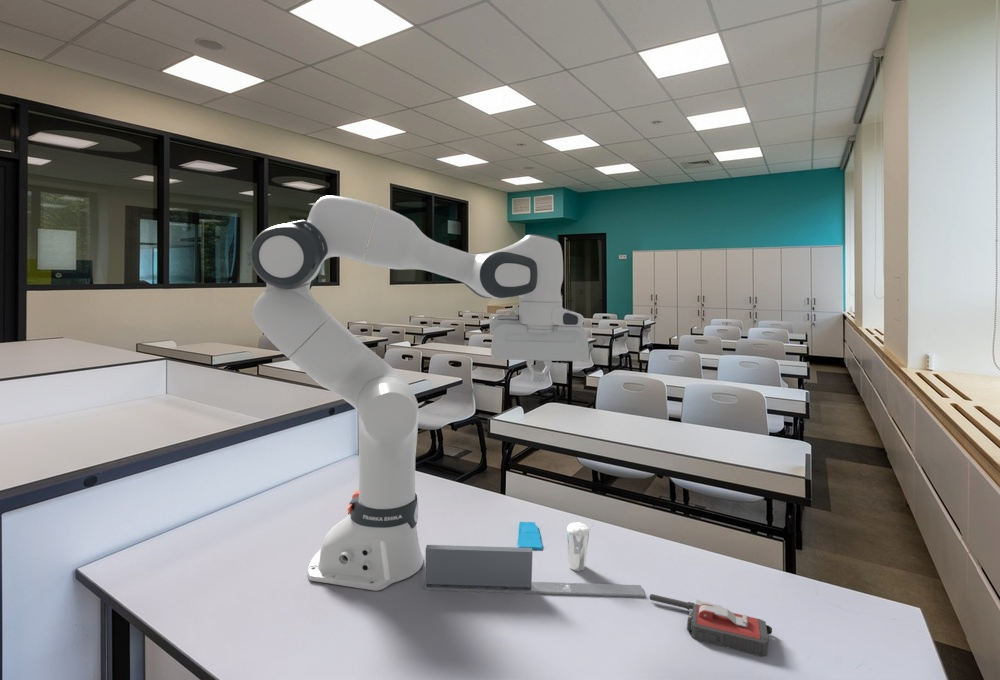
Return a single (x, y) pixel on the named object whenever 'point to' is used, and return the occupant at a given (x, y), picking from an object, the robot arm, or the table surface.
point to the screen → (479, 565)
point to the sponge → (529, 536)
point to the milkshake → (577, 545)
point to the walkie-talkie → (723, 626)
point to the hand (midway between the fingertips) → (538, 381)
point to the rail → (550, 589)
